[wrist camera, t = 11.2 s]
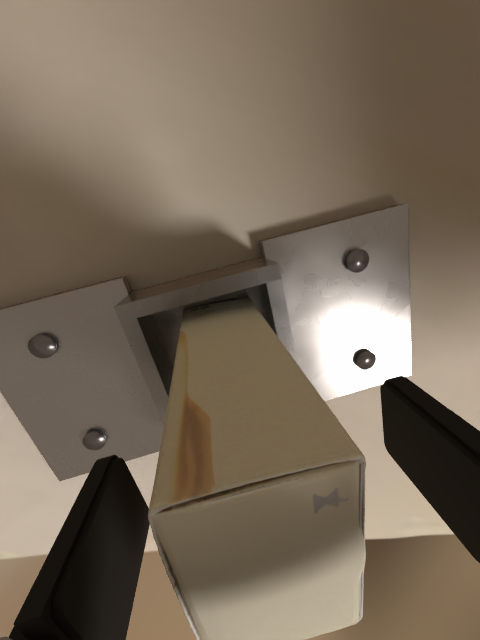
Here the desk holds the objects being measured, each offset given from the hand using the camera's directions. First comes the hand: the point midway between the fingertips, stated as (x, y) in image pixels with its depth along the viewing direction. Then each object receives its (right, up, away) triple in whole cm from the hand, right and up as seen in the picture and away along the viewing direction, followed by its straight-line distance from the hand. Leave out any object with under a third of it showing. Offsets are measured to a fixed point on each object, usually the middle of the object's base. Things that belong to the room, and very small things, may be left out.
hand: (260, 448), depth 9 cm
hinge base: (-2, +3, +8) cm, 9 cm away
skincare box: (-2, +3, +8) cm, 9 cm away
